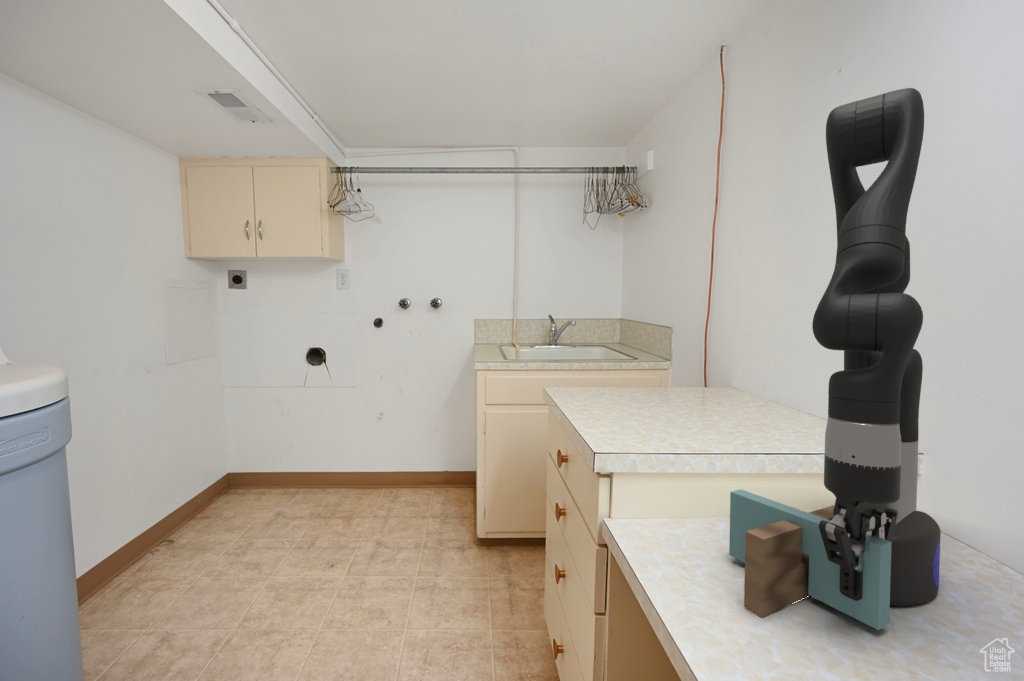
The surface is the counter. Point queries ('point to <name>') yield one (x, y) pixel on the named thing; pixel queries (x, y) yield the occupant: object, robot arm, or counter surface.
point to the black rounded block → (914, 560)
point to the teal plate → (818, 557)
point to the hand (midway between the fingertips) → (857, 593)
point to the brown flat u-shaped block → (776, 566)
